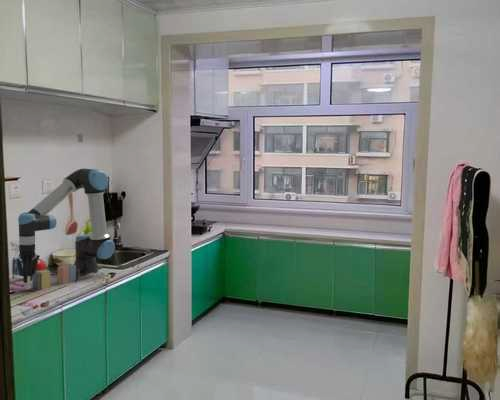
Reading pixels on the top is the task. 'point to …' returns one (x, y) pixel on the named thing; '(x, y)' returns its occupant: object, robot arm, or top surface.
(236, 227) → the top surface
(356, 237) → the top surface
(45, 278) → the book ochre
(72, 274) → the book slate
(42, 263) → the mushroom
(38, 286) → the bookend
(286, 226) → the top surface
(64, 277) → the book terracotta
